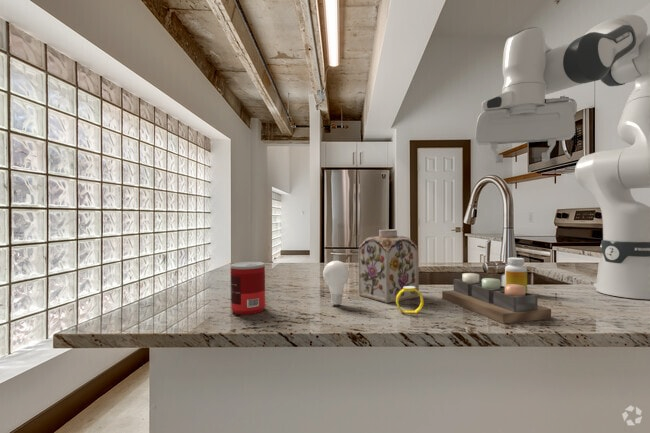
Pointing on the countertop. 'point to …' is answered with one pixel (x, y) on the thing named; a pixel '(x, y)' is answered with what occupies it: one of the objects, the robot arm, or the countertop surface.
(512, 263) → the supplement bottle
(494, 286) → the sage button
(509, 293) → the terracotta button
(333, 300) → the lightbulb
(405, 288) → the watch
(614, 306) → the countertop surface
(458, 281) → the button board
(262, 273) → the canned food
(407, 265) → the decorative jar
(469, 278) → the cream button
